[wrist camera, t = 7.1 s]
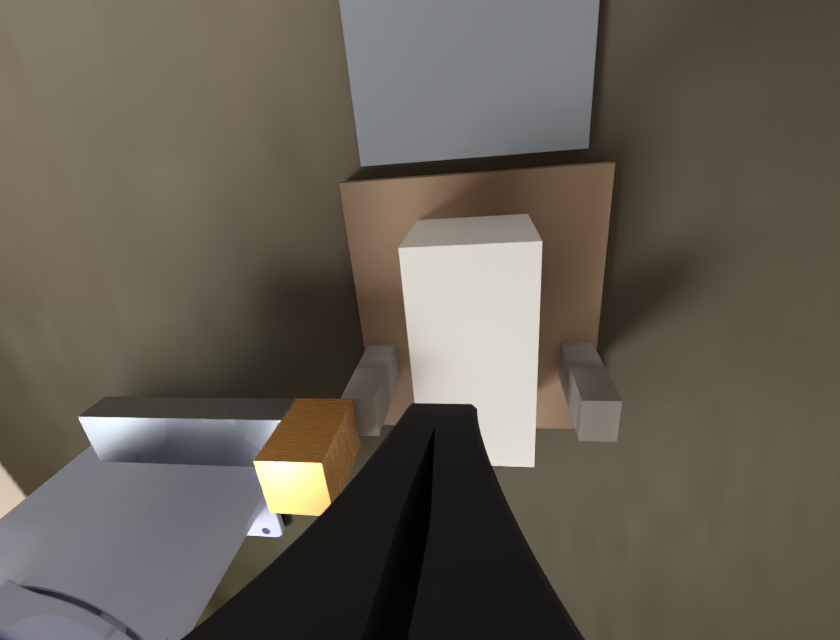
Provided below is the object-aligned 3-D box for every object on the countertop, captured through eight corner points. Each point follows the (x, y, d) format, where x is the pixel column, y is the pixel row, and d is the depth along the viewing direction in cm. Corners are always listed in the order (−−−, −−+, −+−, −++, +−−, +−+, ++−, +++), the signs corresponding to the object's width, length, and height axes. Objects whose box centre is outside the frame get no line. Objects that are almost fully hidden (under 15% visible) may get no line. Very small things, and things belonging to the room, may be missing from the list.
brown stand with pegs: (379, 414, 21) (352, 490, 16) (345, 180, 16) (295, 200, 12) (584, 417, 19) (614, 502, 15) (608, 161, 15) (661, 176, 10)
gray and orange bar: (125, 439, 16) (55, 501, 14) (105, 396, 16) (26, 452, 13) (360, 445, 15) (333, 516, 12) (352, 399, 14) (321, 463, 11)
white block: (432, 399, 19) (421, 463, 15) (417, 220, 16) (398, 248, 12) (523, 399, 18) (534, 467, 15) (527, 213, 15) (542, 241, 11)
